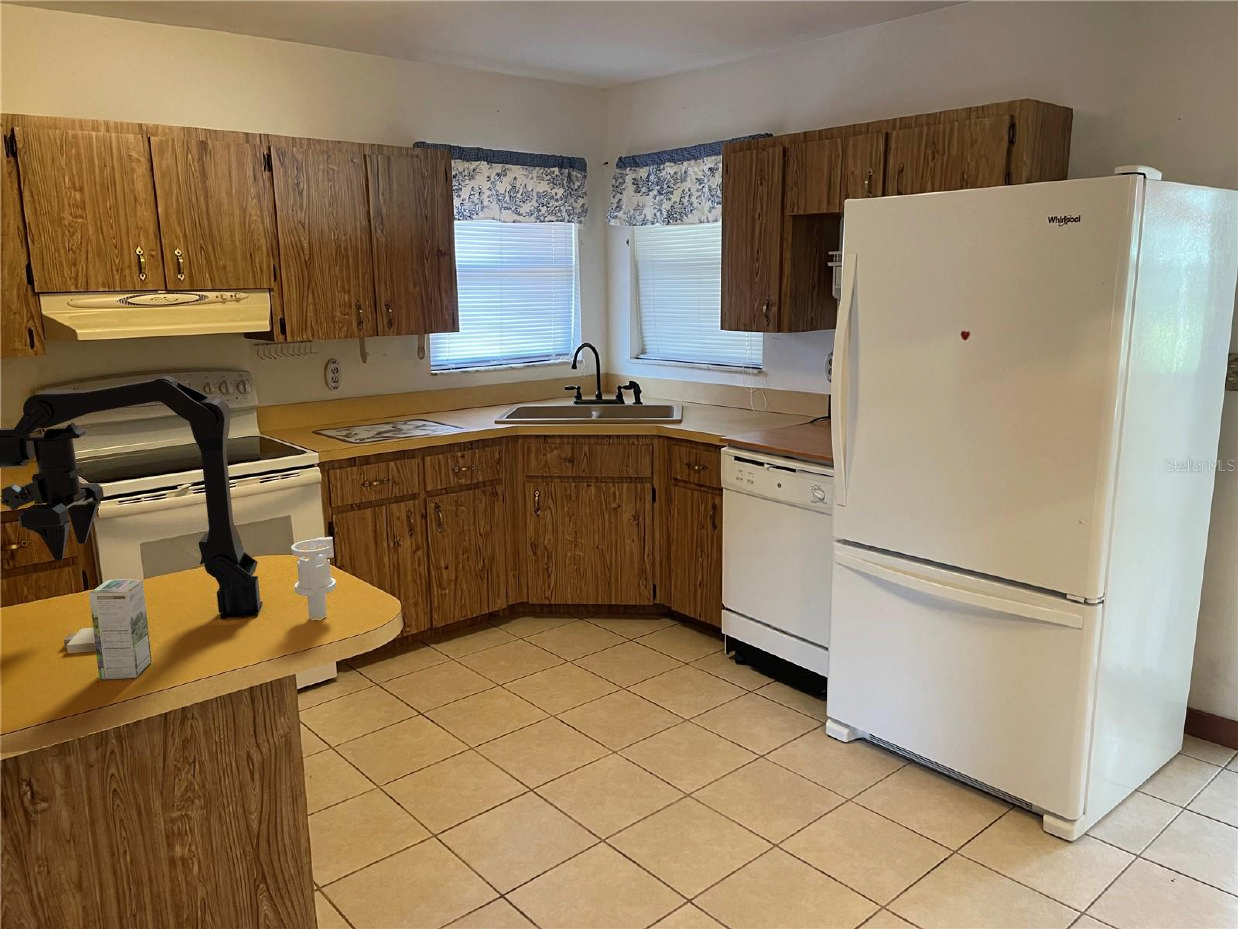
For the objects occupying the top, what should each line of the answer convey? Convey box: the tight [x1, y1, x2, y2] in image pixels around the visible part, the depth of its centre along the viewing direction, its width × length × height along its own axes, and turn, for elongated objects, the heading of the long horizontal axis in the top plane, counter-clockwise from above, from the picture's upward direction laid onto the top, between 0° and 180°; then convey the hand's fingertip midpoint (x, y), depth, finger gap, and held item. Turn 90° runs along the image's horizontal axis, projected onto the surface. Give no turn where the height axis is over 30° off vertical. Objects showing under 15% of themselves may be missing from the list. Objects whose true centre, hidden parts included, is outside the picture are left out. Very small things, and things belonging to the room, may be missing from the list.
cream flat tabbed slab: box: [63, 627, 96, 654], centre depth 152 cm, size 10×7×2 cm
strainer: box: [290, 536, 337, 620], centre depth 161 cm, size 7×7×15 cm
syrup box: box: [89, 578, 153, 680], centre depth 140 cm, size 6×6×14 cm
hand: (70, 551), depth 156 cm, fingers open, 9 cm apart
